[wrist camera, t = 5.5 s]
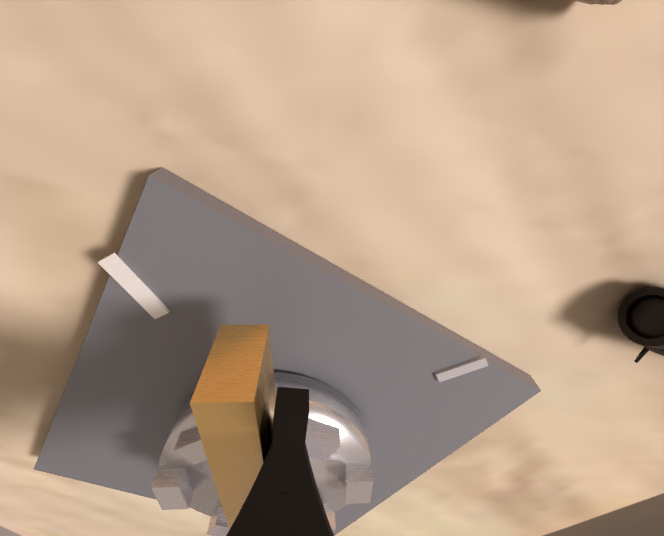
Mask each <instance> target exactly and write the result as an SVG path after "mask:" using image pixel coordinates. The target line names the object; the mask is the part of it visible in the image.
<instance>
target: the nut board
mask: <svg viewBox="0 0 664 536" xmlns="http://www.w3.org/2000/svg"><path fill="white" fill-rule="evenodd" d="M97 263H98V264H99V265H100V266H101V267H103V268H104V269H105V270H106V271H107V272H108V273H109V274H110V276H109V278H108V281H107V284H106V286H105V289H104V291H103V294H102V296H101V299H100V301H99V304H98V307H97V309H96V312H95V314H94V317H93V319H92V322H91V324H90V327H89V330H88V332H87V335H86V337H85V340H84V342H83V345H82V347H81V350H80V353H79V355H78V358H77V360H76V363H75V365H74V368H73V370H72V373H71V375H70V378H69V381H68V383H67V386H66V388H65V391H64V393H63V396H62V398H61V401H60V404H59V406H58V409H57V411H56V414H55V416H54V419H53V421H52V424H51V427H50V429H49V432H48V434H47V437H46V439H45V442H44V444H43V447H42V450H41V452H40V455H39V457H38V460H37V462H36V465H35V467H34V469H35V470H39V471H43V472H47V473H51V474H55V475H59V476H63V477H67V478H71V479H75V480H79V481H84V482H88V483H92V484H96V485H100V486H104V487H108V488H112V489H116V490H120V491H124V492H128V493H133V494H137V495H141V496H145V497H149V498H153V499H157V498H156V496H155V494H154V492H153V491H152V489H151V486H152V484H153V481H154V479H155V477H156V474H157V472H158V469H159V460H160V456H161V454H162V451H163V449H164V446H165V444H166V442H167V439H168V437H169V434H170V432H171V429H172V427H173V425H174V422H175V420H176V417H177V415H178V413H179V410H180V409H181V407H182V406H183V404H184V403H185V402H186V401H187V400H188V399H189V398H190V397H191V396H192V395H193V394H194V391H195V389H196V386H197V384H198V381H199V378H200V376H201V373H202V371H203V368H204V366H205V363H206V361H207V358H208V355H209V353H210V350H211V348H212V345H213V343H214V340H215V338H216V335H217V333H218V330H219V327H220V325H259V324H269V328H270V338H271V348H272V357H273V367H274V372H280V373H288V374H295V375H300V376H304V377H308V378H312V379H315V380H318V381H321V382H323V383H325V384H327V385H330V386H332V387H333V388H335V389H337V390H339V391H340V392H342V393H343V394H344V395H346V396H347V397H348V398H350V399H351V400H352V401H353V403H354V404H355V405H356V406H357V407H358V409H359V410H360V412H361V413H362V415H363V418H364V420H365V424H366V430H367V437H368V444H369V452H370V459H371V466H372V474H373V487H372V493H371V500H370V503H357V504H349V505H348V506H346V507H344V508H342V509H341V510H339V511H336V512H335V525H336V530H334V531H332V532H333V534H334V535H336V534H337V533H338V532H340V531H341V530H343V529H344V528H346V527H347V526H348V525H350V524H351V523H353V522H354V521H356V520H357V519H358V518H360V517H361V516H363V515H364V514H366V513H367V512H368V511H370V510H371V509H373V508H374V507H376V506H377V505H378V504H380V503H381V502H383V501H384V500H386V499H387V498H388V497H390V496H391V495H393V494H394V493H396V492H397V491H398V490H400V489H401V488H403V487H404V486H406V485H407V484H408V483H410V482H411V481H413V480H414V479H416V478H417V477H418V476H420V475H421V474H423V473H424V472H426V471H427V470H428V469H430V468H431V467H433V466H434V465H436V464H437V463H438V462H440V461H441V460H443V459H444V458H446V457H447V456H448V455H450V454H451V453H453V452H454V451H456V450H457V449H458V448H460V447H461V446H463V445H464V444H466V443H467V442H468V441H470V440H471V439H473V438H474V437H476V436H477V435H478V434H480V433H481V432H483V431H484V430H486V429H487V428H488V427H490V426H491V425H493V424H494V423H496V422H497V421H498V420H500V419H501V418H503V417H504V416H506V415H507V414H508V413H510V412H511V411H513V410H514V409H516V408H517V407H518V406H520V405H521V404H523V403H524V402H526V401H527V400H528V399H530V398H531V397H533V396H534V395H536V394H537V393H538V392H540V391H541V390H540V389H539V387H538V386H537V384H536V383H535V381H534V380H533V379H532V377H531V376H530V375H529V374H527V373H525V372H523V371H522V370H520V369H518V368H516V367H515V366H513V365H511V364H509V363H508V362H506V361H504V360H502V359H500V358H499V357H497V356H495V355H493V354H492V353H490V352H488V351H486V350H485V349H483V348H481V347H479V346H477V345H476V344H474V343H472V342H470V341H469V340H467V339H465V338H463V337H462V336H460V335H458V334H456V333H454V332H453V331H451V330H449V329H447V328H446V327H444V326H442V325H440V324H439V323H437V322H435V321H433V320H431V319H430V318H428V317H426V316H424V315H423V314H421V313H419V312H417V311H416V310H414V309H412V308H410V307H408V306H407V305H405V304H403V303H401V302H400V301H398V300H396V299H394V298H393V297H391V296H389V295H387V294H385V293H384V292H382V291H380V290H378V289H377V288H375V287H373V286H371V285H370V284H368V283H366V282H364V281H362V280H361V279H359V278H357V277H355V276H354V275H352V274H350V273H348V272H347V271H345V270H343V269H341V268H339V267H338V266H336V265H334V264H332V263H331V262H329V261H327V260H325V259H324V258H322V257H320V256H318V255H316V254H315V253H313V252H311V251H309V250H308V249H306V248H304V247H302V246H301V245H299V244H297V243H295V242H293V241H292V240H290V239H288V238H286V237H285V236H283V235H281V234H279V233H278V232H276V231H274V230H272V229H270V228H269V227H267V226H265V225H263V224H262V223H260V222H258V221H256V220H255V219H253V218H251V217H249V216H247V215H246V214H244V213H242V212H240V211H239V210H237V209H235V208H233V207H232V206H230V205H228V204H226V203H224V202H223V201H221V200H219V199H217V198H216V197H214V196H212V195H210V194H209V193H207V192H205V191H203V190H201V189H200V188H198V187H196V186H194V185H193V184H191V183H189V182H187V181H186V180H184V179H182V178H180V177H178V176H177V175H175V174H173V173H171V172H170V171H168V170H166V169H164V168H163V167H161V168H160V169H158V170H156V171H155V172H153V173H151V174H149V176H148V179H147V181H146V184H145V187H144V189H143V192H142V194H141V197H140V199H139V202H138V204H137V207H136V209H135V212H134V215H133V217H132V220H131V222H130V225H129V227H128V230H127V232H126V235H125V238H124V240H123V243H122V245H121V248H120V250H119V253H118V255H116V254H115V253H113V254H111V255H109V256H107V257H105V258H103V259H101V260H100V261H98V262H97ZM190 508H191V507H190Z"/></svg>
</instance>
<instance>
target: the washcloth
mask: <svg viewBox="0 0 664 536" xmlns="http://www.w3.org/2000/svg"><path fill="white" fill-rule="evenodd" d="M575 1H578V2H582V3H586V4H601V5H604V4H612V5H615V4H617V3H619V2H621V1H622V0H575Z"/></svg>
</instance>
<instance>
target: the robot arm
mask: <svg viewBox="0 0 664 536" xmlns="http://www.w3.org/2000/svg"><path fill="white" fill-rule="evenodd" d="M308 417H309V389H300V388H287V387H277V394H276V401H275V408H274V417H273V427H272V437H271V446H270V449H269V451H268V454H267V456H266V458H265V460H264V463H263V465H262V467H261V469H260V471H259V474H258V476H257V478H256V480H255V482H254V484H253V486H252V488H251V490H250V492H249V494H248V496H247V498H246V500H245V502H244V504H243V506H242V508H241V510H240V512H239V514H238V515H237V517H236V519H235V521H234V523H233V525H232V526H231V528H230V530H229V532H228V533H227V535H226V536H334V534H333V532H332V529H331V526H330V524H329V521H328V518H327V515H326V512H325V509H324V507H323V504H322V501H321V498H320V494H319V491H318V488H317V485H316V481H315V478H314V474H313V471H312V467H311V463H310V460H309V456H308V451H307V447H306V443H305V440H306V432H307V424H308Z"/></svg>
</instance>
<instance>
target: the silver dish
mask: <svg viewBox="0 0 664 536" xmlns="http://www.w3.org/2000/svg"><path fill="white" fill-rule="evenodd" d="M277 387H287V388H300V389H309V417H308V424H307V432H306V440H305V443H306V447H307V451H308V456H309V460H310V463H311V467H312V471H313V474H314V478H315V481H316V485H317V488H318V491H319V494H320V498H321V501H322V504H323V507H324V509H325V512H326V515H327V518H328V521H329V524H330V526H331V529H332V531H334V530H336V525H335V512H336V511H339V510H341V509H342V508H344V507H346V506H348V505H349V504H357V503H370V500H371V493H372V487H373V474H372V466H371V459H370V452H369V444H368V437H367V430H366V424H365V420H364V418H363V415H362V413H361V412H360V410H359V409H358V407H357V406H356V405H355V404H354V403H353V401H352V400H351V399H350V398H348V397H347V396H346V395H344V394H343V393H342V392H340V391H339V390H337V389H335V388H333V387H332V386H330V385H327V384H325V383H323V382H321V381H318V380H315V379H312V378H308V377H304V376H300V375H295V374H288V373H280V372H274V367H273V357H272V348H271V338H270V328H269V324H259V325H220V327H219V330H218V333H217V335H216V338H215V340H214V343H213V345H212V348H211V350H210V353H209V355H208V358H207V361H206V363H205V366H204V368H203V371H202V373H201V376H200V378H199V381H198V384H197V386H196V389H195V391H194V394H193V395H192V396H191V397H190V398H189V399H188V400H187V401H186V402H185V403H184V404H183V406H182V407H181V409H180V410H179V413H178V415H177V417H176V420H175V422H174V425H173V427H172V429H171V432H170V434H169V437H168V439H167V442H166V444H165V446H164V449H163V451H162V454H161V456H160V460H159V469H158V472H157V474H156V477H155V479H154V481H153V484H152V486H151V489H152V491H153V492H154V494H155V496H156V498H157V500H158V502H159V504H160V506H161V508H162V510H168V509H188V508H189V507H191V508H193V509H195V510H197V511H199V512H201V513H204V514H206V515H209V516H211V519H210V523H209V528H208V532H207V535H212V536H226V535H227V533H228V532H229V530H230V528H231V526H232V525H233V523H234V521H235V519H236V517H237V515H238V514H239V512H240V510H241V508H242V506H243V504H244V502H245V500H246V498H247V496H248V494H249V492H250V490H251V488H252V486H253V484H254V482H255V480H256V478H257V476H258V474H259V471H260V469H261V467H262V465H263V463H264V460H265V458H266V456H267V454H268V451H269V449H270V446H271V437H272V427H273V417H274V408H275V401H276V394H277Z"/></svg>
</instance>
